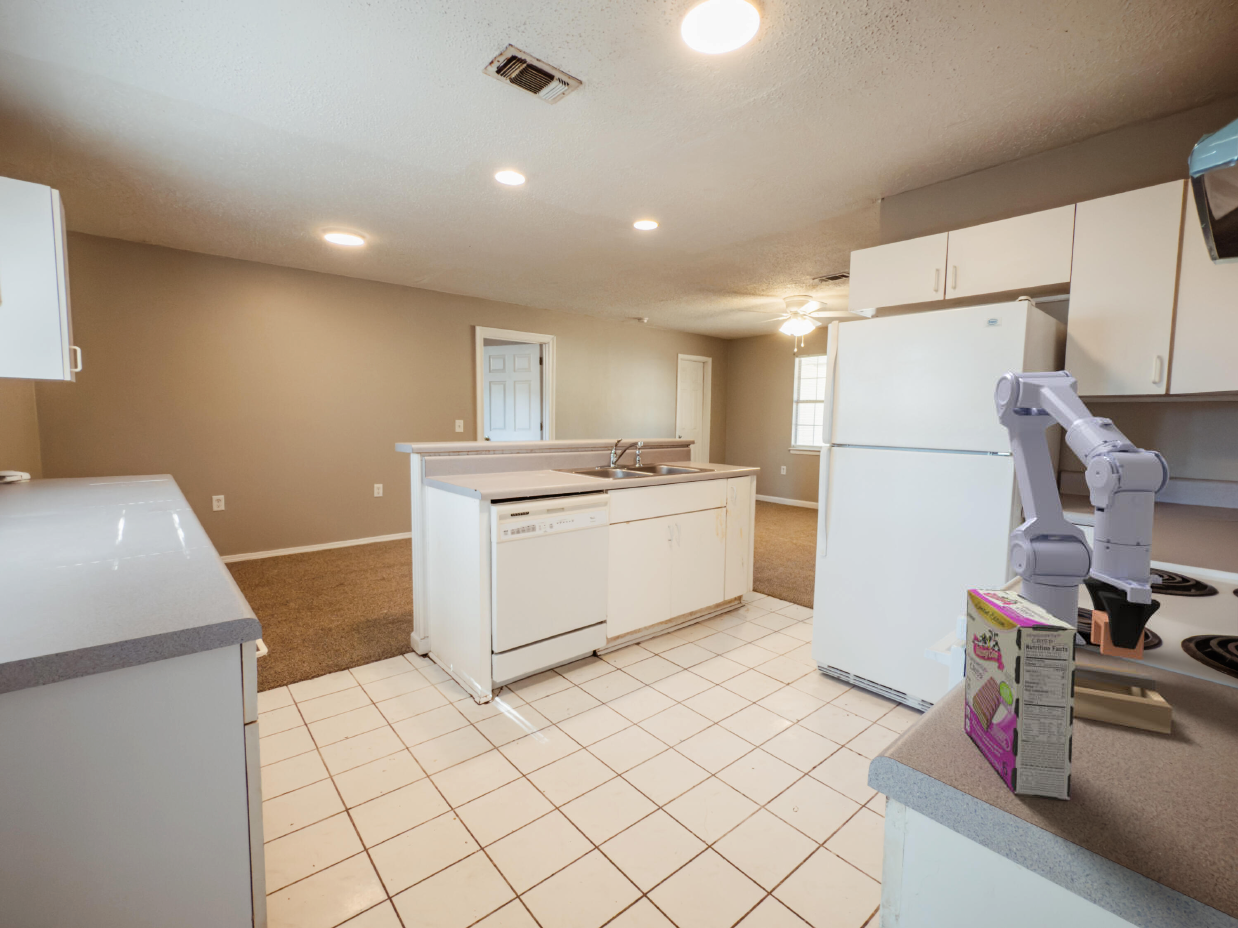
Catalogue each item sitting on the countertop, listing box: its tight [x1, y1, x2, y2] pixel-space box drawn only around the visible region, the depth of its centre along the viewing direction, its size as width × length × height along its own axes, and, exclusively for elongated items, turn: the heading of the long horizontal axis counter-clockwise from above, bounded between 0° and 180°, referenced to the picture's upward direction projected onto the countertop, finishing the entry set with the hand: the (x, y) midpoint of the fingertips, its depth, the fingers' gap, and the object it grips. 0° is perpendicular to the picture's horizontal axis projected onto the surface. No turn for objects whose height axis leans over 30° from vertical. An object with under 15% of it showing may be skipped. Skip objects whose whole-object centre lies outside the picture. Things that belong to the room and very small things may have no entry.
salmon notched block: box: [1090, 609, 1146, 661], centre depth 73 cm, size 5×4×4 cm
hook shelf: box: [1073, 661, 1173, 735], centre depth 66 cm, size 10×9×4 cm
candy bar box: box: [963, 588, 1078, 801], centre depth 54 cm, size 11×5×16 cm, turn 168°
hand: (1116, 639), depth 73 cm, fingers closed on salmon notched block, 5 cm apart
